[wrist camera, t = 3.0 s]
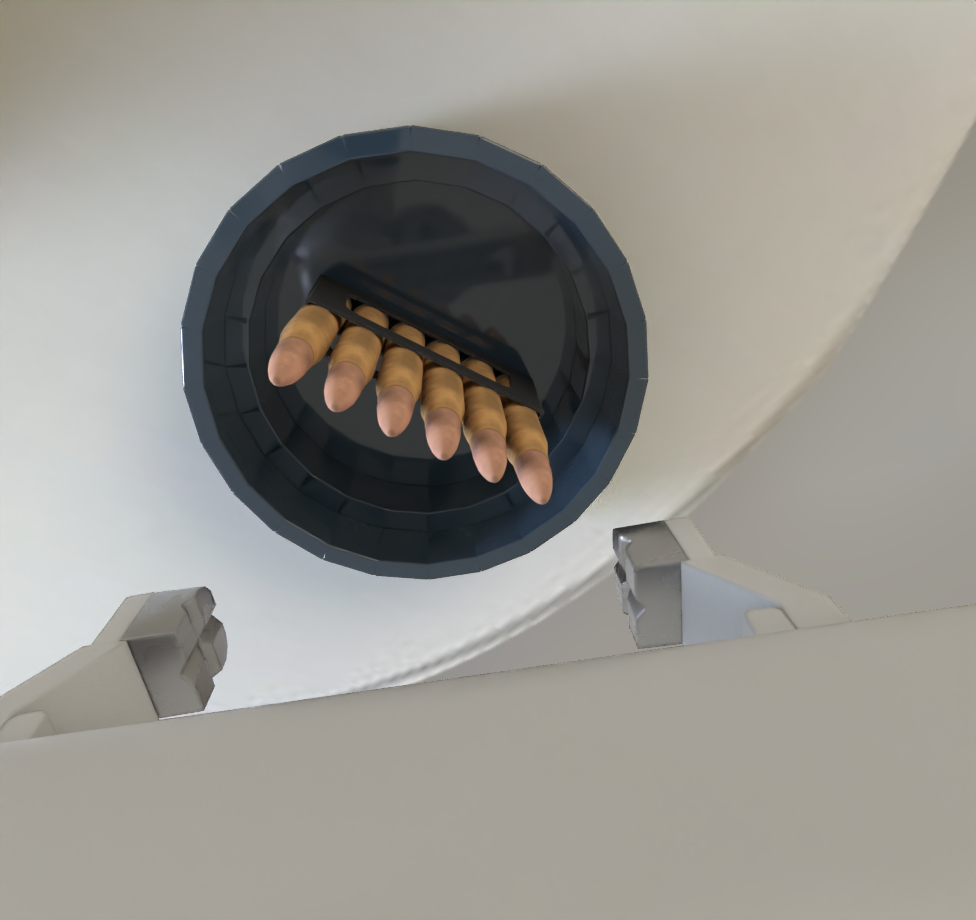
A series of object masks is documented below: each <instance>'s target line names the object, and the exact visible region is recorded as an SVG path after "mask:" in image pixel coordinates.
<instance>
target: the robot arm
mask: <svg viewBox="0 0 976 920" xmlns="http://www.w3.org/2000/svg"><path fill="white" fill-rule="evenodd" d="M613 549H614V551H615V554H616V556H617V558H618V562H617V564H616V565H615V567H614V569H615V580H616V587H617V592H618V597H619V601H620V604H621V607H622V610H623V612H624V613H625V614H627V615H628V616H629V628H630V630H631V632H632V635H633V637H634V640H635V642H636V645H637V647H638V649H641V648H650V647H658V646H667V645H676V644H683V646H676V647H669V648H662V649H655V650H648V651H641V652H634V653H627V654H620V655H613V656H606V657H599V658H592V659H585V660H578V661H571V662H564V663H557V664H550V665H543V666H536V667H529V668H522V669H516V670H508V671H501V672H494V673H487V674H480V675H473V676H466V677H459V678H452V679H445V680H438V681H431V682H424V683H417V684H410V685H403V686H396V687H388V688H381V689H374V690H367V691H360V692H353V693H346V694H339V695H332V696H325V697H318V698H311V699H304V700H297V701H290V702H283V703H276V704H269V705H262V706H255V707H248V708H241V709H234V710H227V711H220V712H212V713H205V714H198V715H191V716H184V717H177V718H170V719H163V720H159V718H164V717H170V716H175V715H181V714H187V713H193V712H199V711H204V709H205V707H206V705H207V702H208V700H209V698H210V696H211V693H212V691H213V689H214V687H215V685H214V682H213V679H212V677H214V676H215V675H216V674H217V673H219V672H220V671H221V670H222V668H223V666H224V663H225V661H226V656H227V638H226V632H225V629H224V626H223V623H222V622H220V621H219V620H218V619H216V618H215V617H214V616H212V615H211V614H212V612H213V610H214V608H215V605H216V603H215V601H214V598H213V596H212V593H211V591H210V590H209V589H208V588H206V587H205V586H204V587H196V588H188V589H180V590H172V591H163V592H157V593H154V592H152V593H146V594H140V595H134V596H130V597H127V598H126V599H125V600H124V601H123V603H122V604H121V605H120V607H119V608H118V609H117V611H116V612H115V613H114V615H113V616H112V617H111V619H110V620H109V622H108V623H107V624H106V626H105V627H104V628H103V630H102V631H101V632H100V634H99V635H98V636H97V638H96V639H95V640H94V642H93V643H92V644H91V645H90V646H83V647H81V648H80V649H78V650H76V651H75V652H73V653H71V654H70V655H68V656H66V657H65V658H63V659H61V660H60V661H58V662H56V663H55V664H53V665H51V666H50V667H48V668H47V669H45V670H43V671H42V672H40V673H38V674H37V675H35V676H33V677H32V678H30V679H28V680H27V681H25V682H23V683H22V684H20V685H18V686H17V687H15V688H13V689H12V690H10V691H8V692H7V693H5V694H4V695H2V696H0V920H976V604H972V605H964V606H957V607H950V608H943V609H936V610H929V611H922V612H915V613H908V614H901V615H894V616H887V617H880V618H873V619H865V620H859V621H852V620H851V619H850V618H849V617H848V616H847V615H846V614H845V612H844V611H843V610H842V609H841V608H840V607H839V606H838V605H837V603H836V602H835V601H834V600H833V599H832V598H831V597H830V596H827V595H824V594H822V593H819V592H817V591H814V590H812V589H809V588H807V587H804V586H801V585H799V584H796V583H794V582H791V581H789V580H786V579H783V578H781V577H778V576H776V575H773V574H771V573H768V572H765V571H763V570H760V569H758V568H755V567H753V566H750V565H747V564H745V563H742V562H740V561H737V560H734V559H732V558H730V557H727V556H724V555H723V556H716V554H715V553H714V552H713V550H712V549H711V548H710V546H709V545H708V543H707V542H706V540H705V539H704V538H703V536H702V535H701V533H700V532H699V530H698V529H697V528H696V526H695V525H694V523H693V522H692V520H691V519H690V518H689V517H680V518H675V519H669V520H663V521H657V522H651V523H645V524H639V525H633V526H627V527H621V528H615V529H613Z"/></svg>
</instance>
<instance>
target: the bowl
mask: <svg viewBox="0 0 976 920" xmlns="http://www.w3.org/2000/svg"><path fill="white" fill-rule="evenodd" d="M196 265H197V266H196V267H195V270H194V274H193V278H192V282H191V286H190V290H189V294H188V298H187V302H186V306H185V310H184V314H183V318H182V322H181V326H182V327H181V350H182V374H183V386H184V392H185V395H186V398H187V401H188V404H189V408H190V411H191V414H192V417H193V420H194V423H195V426H196V429H197V432H198V435H199V438H200V441H201V443H202V445H203V447H204V449H205V450H206V452H207V453H208V455H209V456H210V458H211V460H212V461H213V463H214V464H215V466H216V467H217V469H218V470H219V472H220V474H221V475H222V477H223V478H224V480H225V481H226V483H227V484H228V486H229V488H230V489H231V491H232V492H234V495H235V496H236V497H237V498H239V499H240V500H241V501H242V502H243V503H244V504H245V505H246V506H247V507H248V508H249V509H250V510H251V511H252V512H253V513H255V514H256V515H257V516H258V517H259V518H260V519H261V520H262V521H263V522H264V523H265V524H266V525H267V526H268V527H269V528H270V529H272V530H273V531H275V532H276V533H277V534H279V535H281V536H282V537H284V538H286V539H288V540H289V541H291V542H293V543H295V544H296V545H298V546H300V547H301V548H303V549H305V550H307V551H308V552H310V553H312V554H314V555H315V556H317V557H319V558H321V559H322V558H323V560H325V561H329V562H332V563H335V564H338V565H342V566H345V567H348V568H352V569H355V570H358V571H362V572H365V573H368V574H371V575H376V576H388V577H401V578H415V579H428V578H429V579H435V578H442V577H449V576H455V575H462V574H469V573H475V572H480V571H484V570H487V569H489V568H492V567H494V566H497V565H499V564H502V563H504V562H507V561H510V560H512V559H515V558H517V557H520V556H522V555H525V554H527V553H530V551H533V550H535V549H536V548H537V547H539V546H540V545H542V544H543V543H545V542H546V541H548V540H549V539H550V538H552V537H553V536H555V535H556V534H558V533H559V532H561V531H562V530H564V529H565V528H566V527H568V526H569V525H571V524H572V523H573V522H574V521H576V520H577V519H578V518H579V517H580V515H581V514H582V513H583V512H584V511H585V510H586V509H587V508H588V506H589V505H590V504H591V503H592V502H593V501H594V500H595V499H596V498H597V496H598V495H599V494H600V493H601V492H602V491H603V490H604V489H605V487H606V486H607V485H608V484H609V483H610V481H611V479H612V477H613V475H614V474H615V472H616V470H617V468H618V466H619V464H620V462H621V460H622V458H623V456H624V454H625V453H626V451H627V449H628V447H629V445H630V443H631V441H632V439H633V437H634V435H635V433H636V431H637V426H638V422H639V418H640V413H641V409H642V404H643V400H644V396H645V391H646V387H647V383H648V353H647V327H646V320H645V318H646V317H645V314H644V311H643V308H642V304H641V301H640V298H639V295H638V292H637V289H636V286H635V282H634V279H633V276H632V273H631V270H630V267H629V264H628V262H627V259H626V258H625V256H624V255H623V253H622V252H621V250H620V249H619V247H618V246H617V244H616V242H615V241H614V239H613V238H612V236H611V235H610V233H609V232H608V230H607V229H606V227H605V226H604V224H603V223H602V221H601V220H600V218H599V217H598V215H597V214H596V212H595V211H594V209H592V207H591V206H590V205H589V204H588V203H587V202H586V201H584V200H583V199H582V198H581V197H580V196H579V195H577V194H576V193H575V192H574V191H573V190H572V189H570V188H569V187H568V186H567V185H566V184H565V183H564V182H562V181H561V180H560V179H559V178H558V177H557V176H555V175H554V174H553V173H552V172H551V171H550V170H548V169H547V168H546V167H545V166H544V165H541V164H540V163H539V162H536V161H534V160H532V159H530V158H528V157H526V156H523V155H521V154H519V153H517V152H515V151H513V150H510V149H508V148H506V147H504V146H502V145H500V144H497V143H495V142H493V141H491V140H489V139H486V138H484V137H479V135H474V134H467V133H461V132H454V131H447V130H440V129H434V128H427V127H420V126H414V125H412V126H411V127H410V126H401V127H394V128H387V129H380V130H373V131H366V132H358V133H351V134H344V135H343V136H338V137H336V138H334V139H331V140H329V141H327V142H325V143H323V144H321V145H318V146H316V147H314V148H312V149H310V150H308V151H306V152H303V153H301V154H299V155H297V156H295V157H293V158H291V159H288V160H286V161H284V162H282V163H280V165H277V166H276V167H275V168H274V169H273V170H272V171H270V172H269V173H268V174H267V175H266V176H265V177H264V178H263V179H262V180H260V181H259V182H258V183H257V184H256V185H255V186H254V187H253V188H252V189H251V190H249V191H248V192H247V193H246V194H245V195H244V196H243V197H242V198H241V199H239V200H238V201H237V202H236V203H235V204H234V205H233V206H232V207H231V208H230V210H228V211H227V213H226V215H225V216H224V218H223V220H222V221H221V223H220V225H219V226H218V228H217V230H216V231H215V233H214V235H213V236H212V238H211V240H210V241H209V243H208V245H207V246H206V248H205V250H204V251H203V253H202V255H201V257H200V258H199V260H198V262H197V263H196ZM322 274H324V275H326V276H328V277H330V278H332V279H334V280H336V281H338V282H340V283H342V284H344V285H346V286H348V287H350V288H352V289H354V290H356V291H358V292H360V293H362V294H364V295H366V296H368V297H370V298H372V299H374V300H376V301H378V302H380V303H382V304H384V305H386V306H389V307H391V308H393V309H395V310H397V311H399V312H401V313H403V314H405V315H407V316H409V317H411V318H413V319H415V320H417V321H419V322H421V323H423V324H425V325H427V326H429V327H431V328H433V329H435V330H437V331H439V332H441V333H443V334H445V335H447V336H449V337H451V338H453V339H455V340H457V341H459V342H461V343H463V344H465V345H467V346H469V347H471V348H473V349H475V350H477V351H479V352H481V353H483V354H485V355H487V356H489V357H491V358H493V359H495V360H497V361H499V362H501V363H503V364H505V365H507V366H509V367H511V368H513V369H515V370H517V371H519V372H521V373H523V374H525V375H527V376H529V377H530V378H531V379H532V380H533V382H534V385H535V388H536V391H537V394H538V397H539V399H540V402H541V405H542V408H543V410H544V415H543V417H542V418H541V419H540V418H539V417H538V413H537V412H536V414H537V417H538V419H539V422H540V424H541V427H542V430H543V432H544V435H545V438H546V440H547V443H548V458H549V465H550V468H551V471H552V479H553V486H552V493H551V497H550V499H549V501H548V502H547V503H546V504H543V505H542V504H538V503H536V502H534V501H533V500H532V499H531V498H530V497H529V496H528V495H527V494H526V492H525V491H524V489H523V487H522V486H521V484H520V481H519V479H518V476H517V474H516V471H515V469H514V466H513V465H512V464H511V463H510V461H509V460H508V458H507V465H506V469H505V472H504V474H503V477H502V478H501V479H500V480H499V481H498V482H496V483H492V482H489V481H488V480H486V479H485V478H484V477H483V476H482V475H481V473H480V472H479V470H478V468H477V466H476V464H475V462H474V459H473V455H472V451H471V449H470V444H469V443H468V442H467V440H466V438H465V435H464V432H463V424H462V423H461V437H460V441H459V444H458V447H457V450H456V451H455V453H454V454H453V456H452V457H451V458H449V459H448V460H440V459H438V458H437V457H436V456H435V455H434V454H433V452H432V451H431V449H430V447H429V445H428V442H427V438H426V429H425V422H424V420H423V418H422V415H421V409H420V402H419V401H417V402H416V403H415V406H414V410H413V414H412V417H411V420H410V422H409V424H408V426H407V427H406V428H405V430H404V431H403V432H402V433H401V434H399V435H398V436H395V437H389V436H387V435H386V434H385V433H384V432H383V431H382V429H381V427H380V425H379V423H378V417H377V404H378V402H377V399H378V397H377V394H376V381H374V380H372V379H371V380H370V381H369V383H368V384H366V385H365V387H364V388H363V390H362V392H361V394H360V396H359V397H358V399H357V400H356V401H355V403H354V404H353V405H352V406H351V407H349V408H348V409H346V410H344V411H342V412H333V411H331V410H330V409H329V408H328V406H327V404H326V401H325V396H324V387H325V382H326V378H327V375H328V371H329V367H328V363H329V359H327V358H325V357H323V358H322V360H321V361H319V362H318V363H316V364H315V365H313V366H312V367H311V368H310V369H309V370H307V372H306V373H305V375H304V376H303V377H301V378H300V379H299V380H297V381H296V382H294V383H293V384H290V385H287V386H283V387H281V386H275V385H274V384H272V383H271V381H270V379H269V376H268V365H269V360H270V357H271V355H272V353H273V351H274V350H275V348H276V346H277V344H278V343H279V338H280V334H281V332H282V330H283V329H284V327H285V326H286V325H287V323H288V322H289V321H290V320H291V319H292V318H293V317H294V315H295V314H296V313H297V312H298V311H299V310H300V309H301V307H302V306H303V305H304V302H305V299H306V298H307V296H308V294H309V293H310V291H311V289H312V288H313V286H314V284H315V283H316V281H317V279H318V278H319V276H320V275H322ZM339 337H340V336H339V335H337V336H336V337H335V339H334V341H333V342H332V344H331V346H330V347H331V348H332V349H334V347H335V345H336V343H337V341H338V339H339ZM382 357H383V356H381V355H380V356H379V359H378V363H377V366H376V369H375V370H376V371H379V369H380V365H381V361H382Z"/></svg>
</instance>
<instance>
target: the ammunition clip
mask: <svg viewBox="0 0 976 920" xmlns="http://www.w3.org/2000/svg"><path fill="white" fill-rule="evenodd" d="M337 335H339V336H340V337H339V339H338V341H337V343H336V345H335V347H334V349H332V348H331V347H330V346H331V344H332V342H333V341H334V339H335V337H336V336H337ZM380 355H381V356H383V357H382V361H381V365H380V369H379V371H376V370H375V369H376V366H377V363H378V359H379V356H380ZM323 357H325V358H327V359H329V363H328V367H329V371H328V375H327V378H326V382H325V387H324V396H325V401H326V404H327V406H328V408H329V409H330V410H331V411H333V412H342V411H344V410H346V409H348V408H349V407H351V406H352V405H353V404H354V403H355V401H356V400H357V399H358V397H359V396H360V394H361V392H362V390H363V388H364V387H365V385H366V384H368V383H369V381H370V380H371V379H372V380H374V381H376V394H377V397H378V399H377V402H378V404H377V417H378V423H379V425H380V427H381V429H382V431H383V432H384V433H385V434H386V435H387V436H389V437H395V436H398V435H399V434H401V433H402V432H403V431H404V430H405V428H406V427H407V426H408V424H409V422H410V420H411V417H412V414H413V410H414V406H415V403H416V402H417V401H419V402H420V409H421V415H422V418H423V420H424V422H425V429H426V438H427V442H428V445H429V447H430V449H431V451H432V452H433V454H434V455H435V456H436V457H437V458H438V459H440V460H448V459H449V458H451V457H452V456H453V454H454V453H455V451H456V450H457V447H458V444H459V441H460V437H461V423H462V424H463V432H464V435H465V438H466V440H467V442H468V443H469V444H470V449H471V451H472V455H473V459H474V462H475V464H476V466H477V468H478V470H479V472H480V473H481V475H482V476H483V477H484V478H485V479H486V480H488V481H489V482H492V483H496V482H498V481H499V480H500V479H501V478H502V477H503V474H504V472H505V469H506V465H507V458H508V460H509V461H510V463H511V464H512V465H513V466H514V469H515V471H516V474H517V476H518V479H519V481H520V484H521V486H522V487H523V489H524V491H525V492H526V494H527V495H528V496H529V497H530V498H531V499H532V500H533V501H534V502H536V503H538V504H542V505H543V504H546V503H547V502H548V501H549V499H550V497H551V493H552V486H553V479H552V471H551V468H550V465H549V458H548V443H547V440H546V438H545V435H544V432H543V430H542V427H541V424H540V422H539V419H538V417H539V418H540V419H541V418H542V417H543V415H544V410H543V408H542V405H541V402H540V399H539V397H538V394H537V391H536V388H535V385H534V382H533V380H532V379H531V378H530V377H529V376H527V375H525V374H523V373H521V372H519V371H517V370H515V369H513V368H511V367H509V366H507V365H505V364H503V363H501V362H499V361H497V360H495V359H493V358H491V357H489V356H487V355H485V354H483V353H481V352H479V351H477V350H475V349H473V348H471V347H469V346H467V345H465V344H463V343H461V342H459V341H457V340H455V339H453V338H451V337H449V336H447V335H445V334H443V333H441V332H439V331H437V330H435V329H433V328H431V327H429V326H427V325H425V324H423V323H421V322H419V321H417V320H415V319H413V318H411V317H409V316H407V315H405V314H403V313H401V312H399V311H397V310H395V309H393V308H391V307H389V306H386V305H384V304H382V303H380V302H378V301H376V300H374V299H372V298H370V297H368V296H366V295H364V294H362V293H360V292H358V291H356V290H354V289H352V288H350V287H348V286H346V285H344V284H342V283H340V282H338V281H336V280H334V279H332V278H330V277H328V276H326V275H324V274H322V275H320V276H319V278H318V279H317V281H316V283H315V284H314V286H313V288H312V289H311V291H310V293H309V294H308V296H307V298H306V299H305V302H304V305H303V306H302V307H301V309H300V310H299V311H298V312H297V313H296V314H295V315H294V317H293V318H292V319H291V320H290V321H289V322H288V323H287V325H286V326H285V327H284V329H283V330H282V332H281V334H280V338H279V343H278V344H277V346H276V348H275V350H274V351H273V353H272V355H271V357H270V360H269V365H268V376H269V379H270V381H271V383H272V384H274V385H275V386H281V387H283V386H287V385H290V384H293V383H294V382H296V381H297V380H299V379H300V378H301V377H303V376H304V375H305V373H306V372H307V370H309V369H310V368H311V367H312V366H313V365H315V364H316V363H318V362H319V361H321V360H322V358H323ZM536 412H537V413H538V417H537V414H536Z"/></svg>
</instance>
